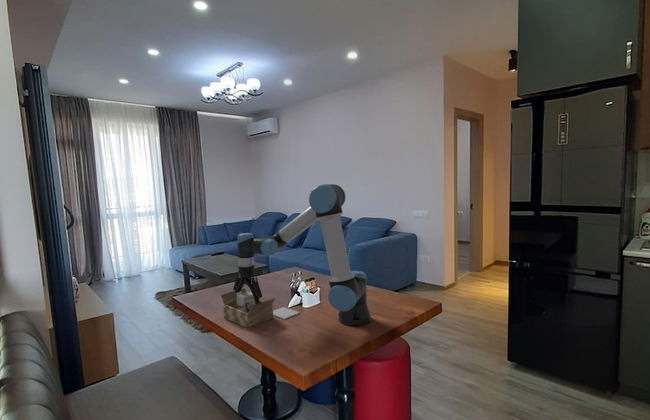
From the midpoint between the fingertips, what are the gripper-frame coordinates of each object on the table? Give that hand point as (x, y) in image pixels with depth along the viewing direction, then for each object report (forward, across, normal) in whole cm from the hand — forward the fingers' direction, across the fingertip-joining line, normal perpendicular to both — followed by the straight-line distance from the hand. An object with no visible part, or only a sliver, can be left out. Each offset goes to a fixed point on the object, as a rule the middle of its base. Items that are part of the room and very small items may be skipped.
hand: (247, 308), depth 166 cm
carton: (+5, 0, 0) cm, 5 cm away
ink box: (+5, 0, 0) cm, 5 cm away
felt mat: (+4, -10, -14) cm, 18 cm away
